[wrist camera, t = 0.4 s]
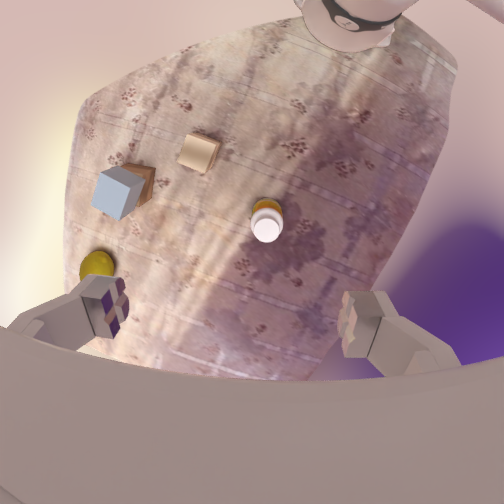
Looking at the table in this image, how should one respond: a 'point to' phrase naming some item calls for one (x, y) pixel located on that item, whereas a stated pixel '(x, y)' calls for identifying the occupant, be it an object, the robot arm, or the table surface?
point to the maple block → (199, 152)
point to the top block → (117, 192)
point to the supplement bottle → (266, 220)
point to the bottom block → (146, 174)
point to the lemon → (96, 265)
